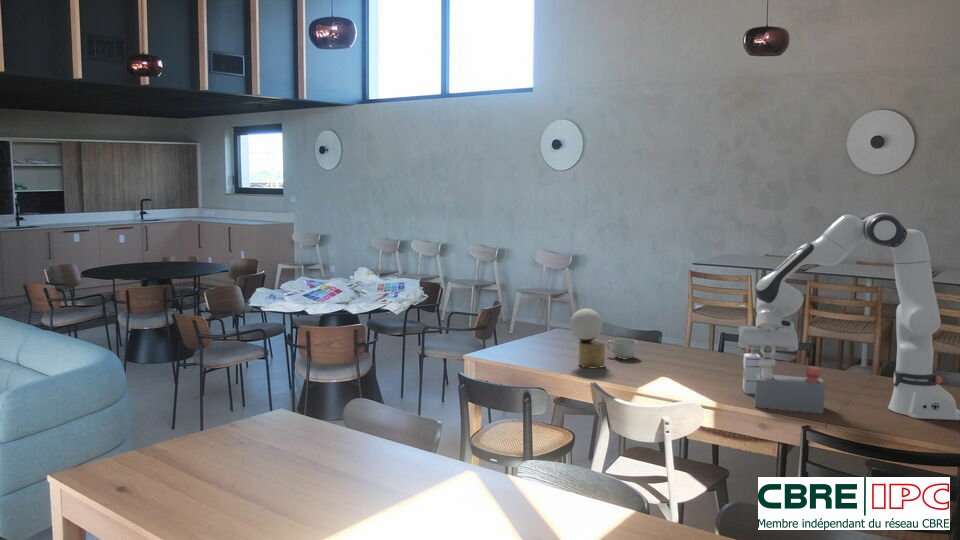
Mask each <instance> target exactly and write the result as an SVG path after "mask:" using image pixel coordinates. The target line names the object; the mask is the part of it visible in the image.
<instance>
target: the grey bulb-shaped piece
mask: <svg viewBox="0 0 960 540" xmlns="http://www.w3.org/2000/svg"><path fill="white" fill-rule="evenodd" d="M760 365H761V374H762V377H761V379H772V375H773V371H774V370H773V367H775V366H776V359H775V358H772V359H763V357H761V358H760Z"/></svg>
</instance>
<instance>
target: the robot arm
mask: <svg viewBox="0 0 960 540" xmlns="http://www.w3.org/2000/svg"><path fill="white" fill-rule="evenodd" d="M864 241H868V242H870V243H871V244H874V245H878V246H883V247H889V248H890V249H891V252H892V257H893V267H894V269H893V270H894V278H895V286H896V291H897V295H898V299H899V302H900V303H899V304H898V305H897V307H896V309H895V310H896V311H895V317H896V319H895V324H896V325H895V327H896V328H895V329H896V332H895V333H896V361H895V362H896V364H895V365H896V366H895V369H894V371H893V385H894V386H893V391H892V395H891V398H890V402H889V405H888V406H887V408H888V410H890V411H892V412H894V413H897V414H900V415H905V416H908V417H909V418H910V417H911V418H913V419H926V420H949V421H960V409H957V404H956V400H955V397H954V396H952V394H950V392H948V391H947V390H946V389H945V388H943V387H942V386H941V385H939V384H941V383H943V381H944V380H943V378H942V377H941V376H939V375H938V374H936V373H934V372H933V367H934V354H935V351H934V350H935V349H934V345H933V334H935V333H936V332H937V331H938V330H939V328H940V326H941V322H942V321H941V316H940V311H939V304H938V299H937V295H936V291H935V287H934V282H933V273H932V265H931V264H932V262H931V254H930V250H929V245H928V241H927V238H926V235H925V234H924V233H923V232H922V231H921V230H918V229H914V228H907V229H906V228H905V227H904V226H903V224H902V223H901V222H900V221H899V219H898V218H896V217H895V216H893V215H892V214H891V213H888V212H887V213H886V212H877V213H873V214H870V215H867V216H865V217H862V218H859V217H858V216H856V215H853V214H843V215H841V216H840V217H838V219H836V220H835V221H834V222H833V223H831V225H830V226H829V227H827V229H826V230H824V232H823V233H822V234H821V235H820V236H819V237H818V238H817V239H815V240H814V241H812V242H809V243H803V244H802V245H800V246H798V247H797V248H796V249H795V250H794V251H793V252H791V253H790V254H789V255H788V256H787V257H786V258H785V259H783V261H781V262H780V263H779V264H778V265H777V266H776V267H774V269H772V270H771V271H769V272H768V273H766V274H764V275H763V276H762V277H761V278H760V279H759V280H758V281H757V282H756V284H755V294H756V295H755V296H756V303H755V305H756V306H755V312H756V316H755V324H754V325H752V324H750V325H748V324H742V325H740V326H738V328H737V329H738V330H737V332H738V347H739V348H741V349H752V350H753V349H754V350H760V351H759V352H760V354H762V356H763V357H762V358H763V359H773V355H774V354H775V353H776V351H784V352H797V351H798V349H799V339H798V334H797V331H796V329H795V324H794V322H793V321H789V320H786V319H783V318H787V317H791V316H793V315H795V314H797V313H799V312H800V311H801V310H802V309H803V307H804V304H805V296H804V294H803V293H802V292H801V291H800V290H799V289H797V288H795V287H794V286H791V285H790V284H789V283H787V282H786V280H787V279H788V278H789V277H790V276H792V275H793V274H794V273H795V272H796V271H797V270H799V268H801V267H803V266H805V265H819V266H822V267H826V266H827V267H830V266H836V265H838V264H840V263H841V262H843V261H844V260H845V259H846V257H847V256H848V255H849V254H850V253H851V251H853V250H854V249H855V247H856V246H857V245H858V244H860V243H862V242H864ZM765 350H766V351H767V350H768V351H770V352H766V351H765Z"/></svg>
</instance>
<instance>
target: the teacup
mask: <svg viewBox="0 0 960 540" xmlns="http://www.w3.org/2000/svg"><path fill="white" fill-rule="evenodd" d="M610 343H611V345H612V347H613V348H611V346H610V345H609V344H610ZM605 347H606V348H607V349H608V350H609V351H611V353H613V354H614V355H615V356H616V358H618V357H621V358H631V359H632V357H633V358H634V357H635V356H636V354H637V350H638V340H635V339H632V338H623V337H621V338H616V339H613V340H611V339H610V340H607V341H606V343H605Z"/></svg>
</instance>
